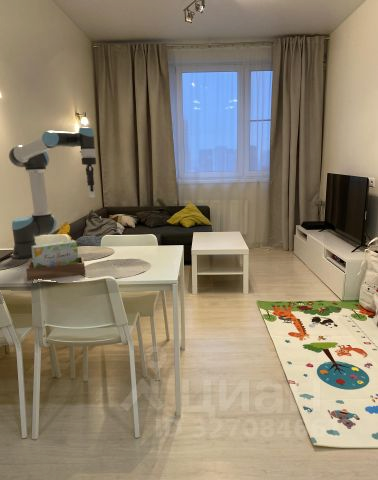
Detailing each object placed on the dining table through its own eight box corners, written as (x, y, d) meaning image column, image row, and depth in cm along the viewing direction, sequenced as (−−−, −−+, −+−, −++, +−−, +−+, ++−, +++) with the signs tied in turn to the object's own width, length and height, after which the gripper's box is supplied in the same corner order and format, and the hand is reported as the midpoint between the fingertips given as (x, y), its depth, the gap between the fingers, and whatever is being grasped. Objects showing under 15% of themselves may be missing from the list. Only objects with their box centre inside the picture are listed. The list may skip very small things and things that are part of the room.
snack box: (36, 277, 179) (33, 247, 176) (34, 274, 184) (30, 245, 181) (79, 269, 191) (77, 241, 188) (76, 267, 195) (73, 239, 192)
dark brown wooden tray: (30, 272, 190) (28, 261, 189) (84, 266, 198) (83, 256, 197) (27, 280, 177) (26, 269, 176) (85, 274, 185) (84, 263, 184)
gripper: (80, 157, 208) (83, 194, 213) (82, 157, 185) (85, 199, 190) (94, 157, 211) (96, 194, 215) (97, 156, 187) (100, 198, 192)
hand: (91, 196), depth 203 cm, fingers open, 13 cm apart
